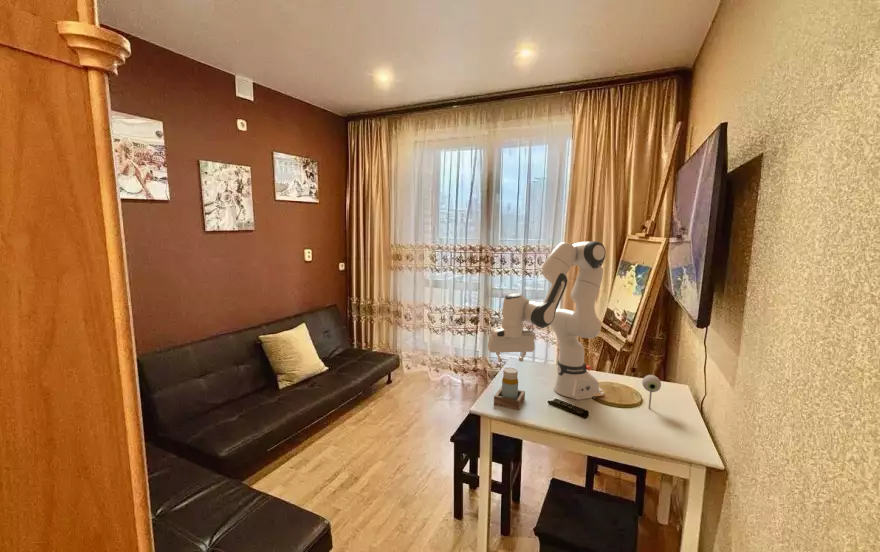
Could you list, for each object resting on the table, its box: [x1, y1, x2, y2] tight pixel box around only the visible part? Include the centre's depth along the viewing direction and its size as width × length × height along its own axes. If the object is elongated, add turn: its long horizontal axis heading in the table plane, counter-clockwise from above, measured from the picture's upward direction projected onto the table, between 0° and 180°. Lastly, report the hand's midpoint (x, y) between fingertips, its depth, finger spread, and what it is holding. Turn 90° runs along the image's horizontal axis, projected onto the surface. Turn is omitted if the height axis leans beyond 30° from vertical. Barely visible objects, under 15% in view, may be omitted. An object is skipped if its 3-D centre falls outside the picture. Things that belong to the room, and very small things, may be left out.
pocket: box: [493, 386, 526, 411], centre depth 170 cm, size 11×11×4 cm
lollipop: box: [641, 374, 662, 410], centre depth 164 cm, size 7×7×15 cm
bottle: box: [501, 367, 519, 400], centre depth 169 cm, size 7×7×15 cm
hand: (510, 361), depth 167 cm, fingers open, 8 cm apart
